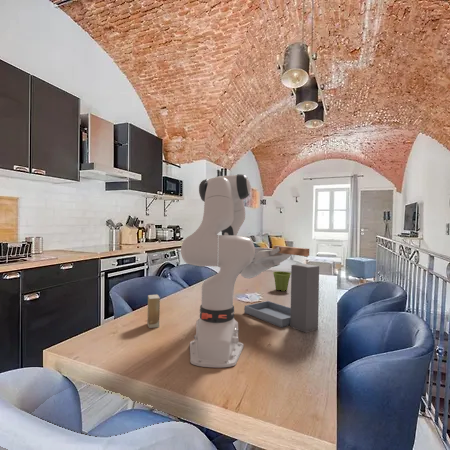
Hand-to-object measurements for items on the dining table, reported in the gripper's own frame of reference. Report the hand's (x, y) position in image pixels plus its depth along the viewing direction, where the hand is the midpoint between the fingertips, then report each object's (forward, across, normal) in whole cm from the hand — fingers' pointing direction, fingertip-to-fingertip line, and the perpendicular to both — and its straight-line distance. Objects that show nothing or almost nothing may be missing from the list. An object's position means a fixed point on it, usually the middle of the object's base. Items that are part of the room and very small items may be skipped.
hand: (283, 248), depth 132 cm
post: (-5, 0, +34) cm, 34 cm away
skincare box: (-38, -51, +16) cm, 65 cm away
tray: (-20, 0, +26) cm, 32 cm away
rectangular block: (+3, 0, +4) cm, 5 cm away
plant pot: (-50, +44, +8) cm, 67 cm away
